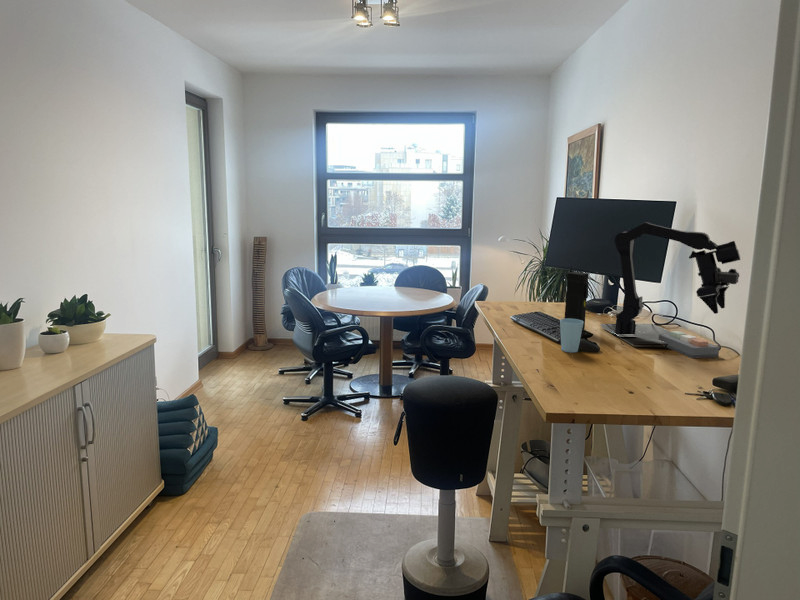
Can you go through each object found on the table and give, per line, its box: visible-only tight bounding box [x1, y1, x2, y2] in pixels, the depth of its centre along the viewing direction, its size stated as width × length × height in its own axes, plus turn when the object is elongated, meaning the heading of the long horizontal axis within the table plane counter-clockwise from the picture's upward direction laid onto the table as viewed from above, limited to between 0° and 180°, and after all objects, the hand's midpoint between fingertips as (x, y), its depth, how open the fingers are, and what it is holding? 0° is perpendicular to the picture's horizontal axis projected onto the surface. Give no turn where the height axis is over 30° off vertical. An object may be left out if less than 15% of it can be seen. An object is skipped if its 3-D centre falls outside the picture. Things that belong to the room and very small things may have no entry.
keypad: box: [658, 333, 720, 359], centre depth 201 cm, size 10×18×4 cm, turn 12°
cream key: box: [680, 334, 698, 342], centre depth 201 cm, size 4×4×2 cm
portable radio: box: [563, 265, 590, 331], centre depth 226 cm, size 8×6×25 cm
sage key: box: [669, 330, 687, 338], centre depth 206 cm, size 4×4×2 cm
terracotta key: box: [691, 338, 709, 347], centre depth 196 cm, size 4×4×2 cm
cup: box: [559, 318, 584, 353], centre depth 197 cm, size 8×8×10 cm
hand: (719, 310), depth 201 cm, fingers open, 9 cm apart
